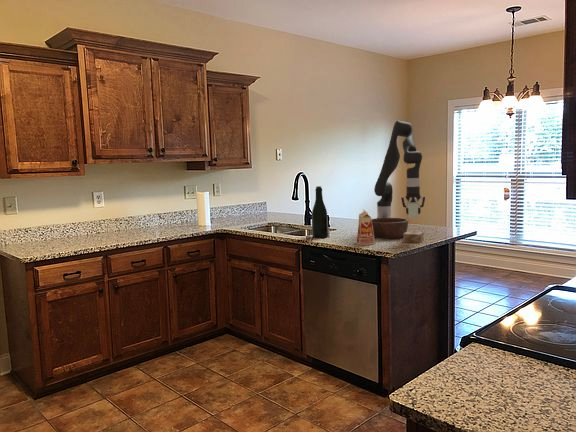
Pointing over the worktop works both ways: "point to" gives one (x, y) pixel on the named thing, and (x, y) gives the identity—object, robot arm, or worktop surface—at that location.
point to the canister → (412, 209)
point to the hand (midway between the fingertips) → (413, 214)
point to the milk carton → (365, 230)
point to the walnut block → (413, 237)
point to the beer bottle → (319, 216)
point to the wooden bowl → (389, 227)
